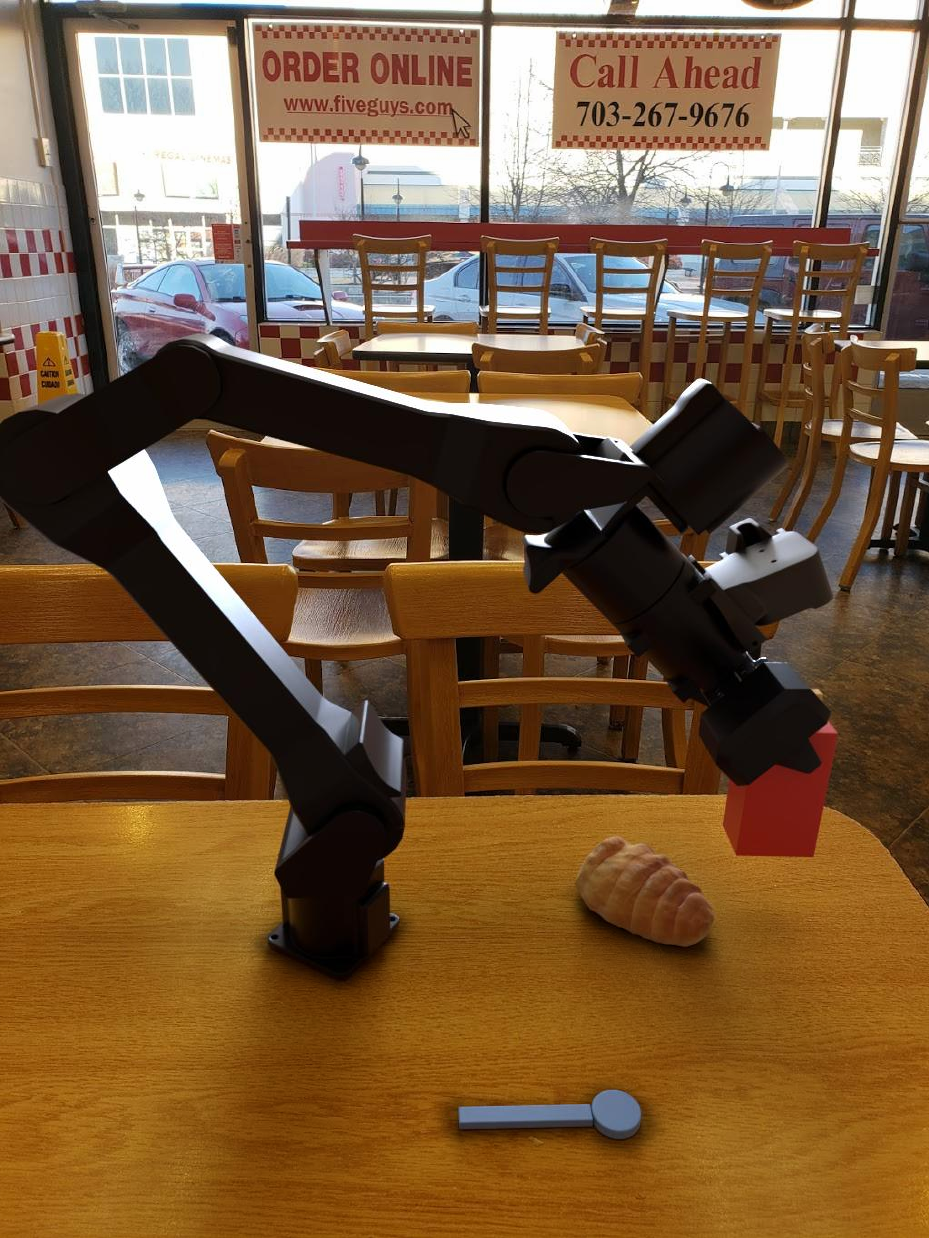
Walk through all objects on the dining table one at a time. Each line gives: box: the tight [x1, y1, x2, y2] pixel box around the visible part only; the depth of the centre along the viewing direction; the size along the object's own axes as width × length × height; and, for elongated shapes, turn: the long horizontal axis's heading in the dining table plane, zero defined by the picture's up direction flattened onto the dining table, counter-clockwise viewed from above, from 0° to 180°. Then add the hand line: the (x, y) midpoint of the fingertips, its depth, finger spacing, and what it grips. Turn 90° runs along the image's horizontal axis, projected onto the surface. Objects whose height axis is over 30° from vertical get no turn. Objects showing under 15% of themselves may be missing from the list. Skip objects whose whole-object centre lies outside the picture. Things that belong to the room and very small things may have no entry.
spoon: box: [457, 1089, 642, 1140], centre depth 49 cm, size 10×3×1 cm, turn 92°
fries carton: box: [722, 688, 839, 858], centre depth 59 cm, size 5×3×12 cm
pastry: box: [574, 835, 715, 948], centre depth 65 cm, size 9×7×4 cm
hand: (803, 753), depth 59 cm, fingers closed on fries carton, 3 cm apart
